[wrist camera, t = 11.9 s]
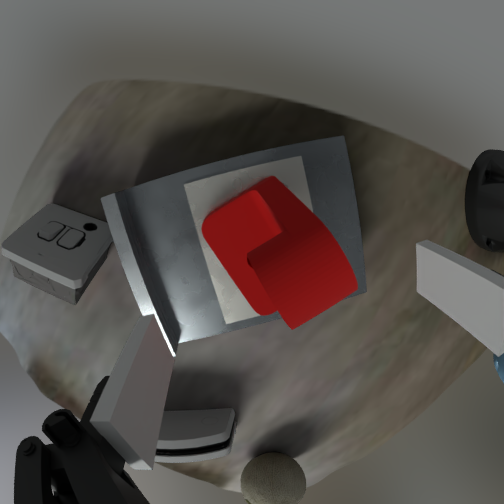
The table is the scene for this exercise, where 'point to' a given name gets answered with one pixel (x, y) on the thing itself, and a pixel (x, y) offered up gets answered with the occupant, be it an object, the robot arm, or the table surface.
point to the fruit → (273, 480)
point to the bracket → (279, 253)
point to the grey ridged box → (197, 249)
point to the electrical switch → (58, 251)
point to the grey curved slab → (195, 435)
